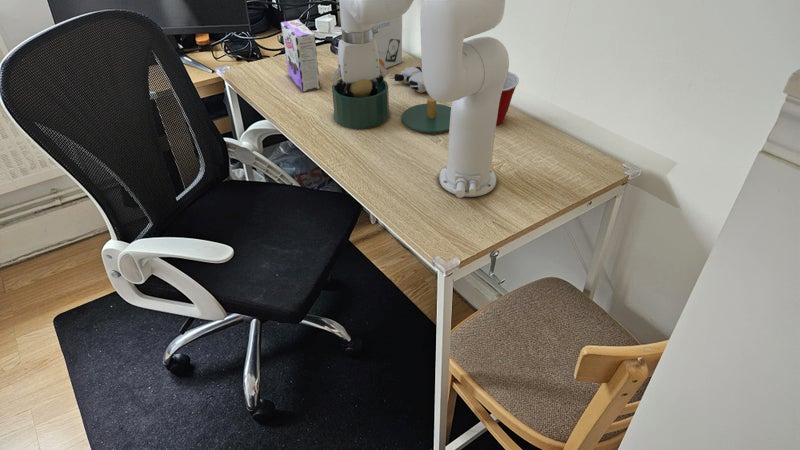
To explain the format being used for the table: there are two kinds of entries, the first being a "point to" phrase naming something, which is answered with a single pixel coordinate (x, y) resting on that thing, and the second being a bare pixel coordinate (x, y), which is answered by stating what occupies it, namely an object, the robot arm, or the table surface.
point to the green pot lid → (428, 117)
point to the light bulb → (361, 88)
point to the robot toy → (411, 78)
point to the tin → (361, 108)
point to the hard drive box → (389, 41)
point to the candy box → (301, 54)
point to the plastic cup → (506, 96)
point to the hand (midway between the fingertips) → (361, 102)
